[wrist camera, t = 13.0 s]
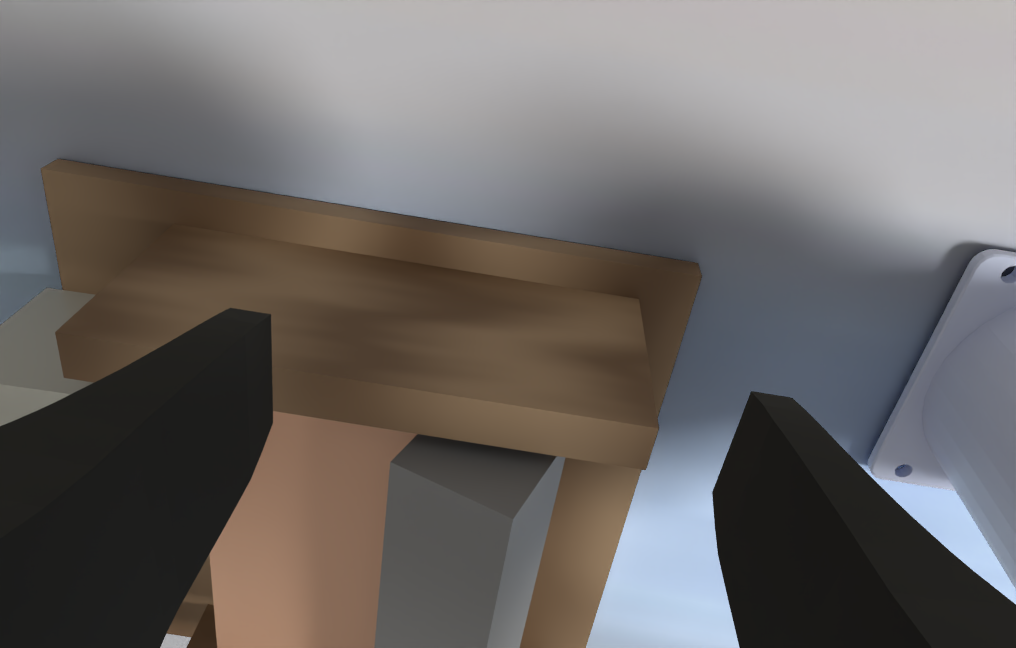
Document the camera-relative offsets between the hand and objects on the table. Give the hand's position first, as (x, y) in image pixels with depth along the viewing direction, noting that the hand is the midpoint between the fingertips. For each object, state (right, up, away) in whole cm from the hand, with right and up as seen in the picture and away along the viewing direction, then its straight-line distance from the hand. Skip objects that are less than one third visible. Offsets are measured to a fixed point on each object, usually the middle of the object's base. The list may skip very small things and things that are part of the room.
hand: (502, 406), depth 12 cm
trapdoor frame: (-5, -4, +15) cm, 16 cm away
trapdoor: (-4, -6, +12) cm, 14 cm away
